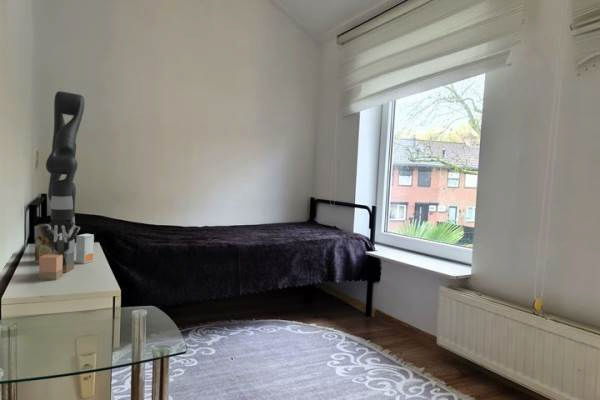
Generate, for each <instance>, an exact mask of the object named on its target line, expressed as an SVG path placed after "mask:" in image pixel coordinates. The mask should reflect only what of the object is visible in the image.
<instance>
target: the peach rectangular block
mask: <svg viewBox="0 0 600 400" xmlns="http://www.w3.org/2000/svg"><path fill="white" fill-rule="evenodd" d="M62 264H63V255H54V254H45V255H43V256H41V257H39V265H38V266H39V267H38V269H39V270H38V272H39V273H38V274H39V275H38V277H39V278H38V280H41V281H42V280H43V281H44V280H45V281H57V280H59V279H61V278H62V277H63V273H62Z"/></svg>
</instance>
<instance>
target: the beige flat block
mask: <svg viewBox="0 0 600 400" xmlns="http://www.w3.org/2000/svg"><path fill="white" fill-rule="evenodd" d="M57 255H63V263H64V262H65V256H67V255H68V254H66V252H64V240H58V253H57Z"/></svg>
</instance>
